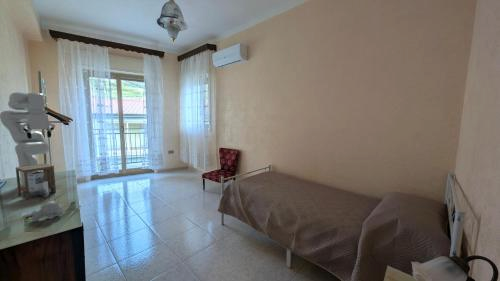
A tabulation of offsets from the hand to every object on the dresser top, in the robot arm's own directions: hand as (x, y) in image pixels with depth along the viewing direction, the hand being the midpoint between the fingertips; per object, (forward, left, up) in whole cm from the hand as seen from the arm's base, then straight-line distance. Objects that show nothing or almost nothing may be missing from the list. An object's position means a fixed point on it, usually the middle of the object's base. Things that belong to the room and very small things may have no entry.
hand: (39, 137), depth 143 cm
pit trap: (-9, -5, -37) cm, 38 cm away
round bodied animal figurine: (+52, -17, -37) cm, 66 cm away
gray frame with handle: (+8, -5, -36) cm, 38 cm away
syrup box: (+4, -5, -37) cm, 38 cm away
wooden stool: (+4, -5, -37) cm, 37 cm away
